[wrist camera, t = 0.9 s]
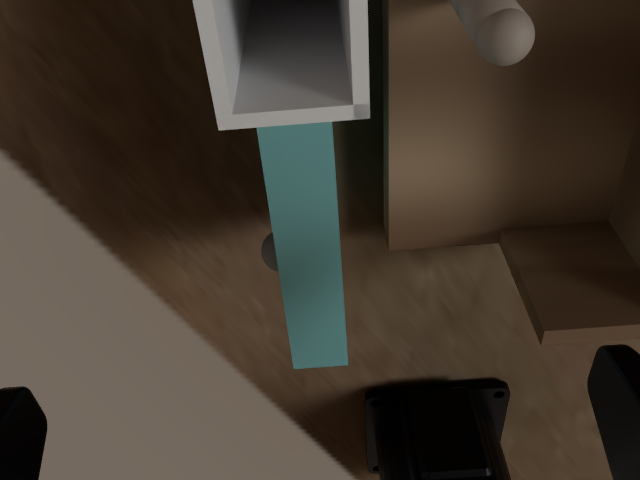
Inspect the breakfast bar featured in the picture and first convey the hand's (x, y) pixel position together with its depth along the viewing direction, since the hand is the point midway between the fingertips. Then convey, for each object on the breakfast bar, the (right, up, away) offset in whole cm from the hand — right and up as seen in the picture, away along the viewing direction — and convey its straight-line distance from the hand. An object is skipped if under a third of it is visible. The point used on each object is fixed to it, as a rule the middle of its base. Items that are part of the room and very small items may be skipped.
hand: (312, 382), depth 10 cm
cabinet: (+6, +7, +8) cm, 13 cm away
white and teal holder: (0, +7, +8) cm, 11 cm away
